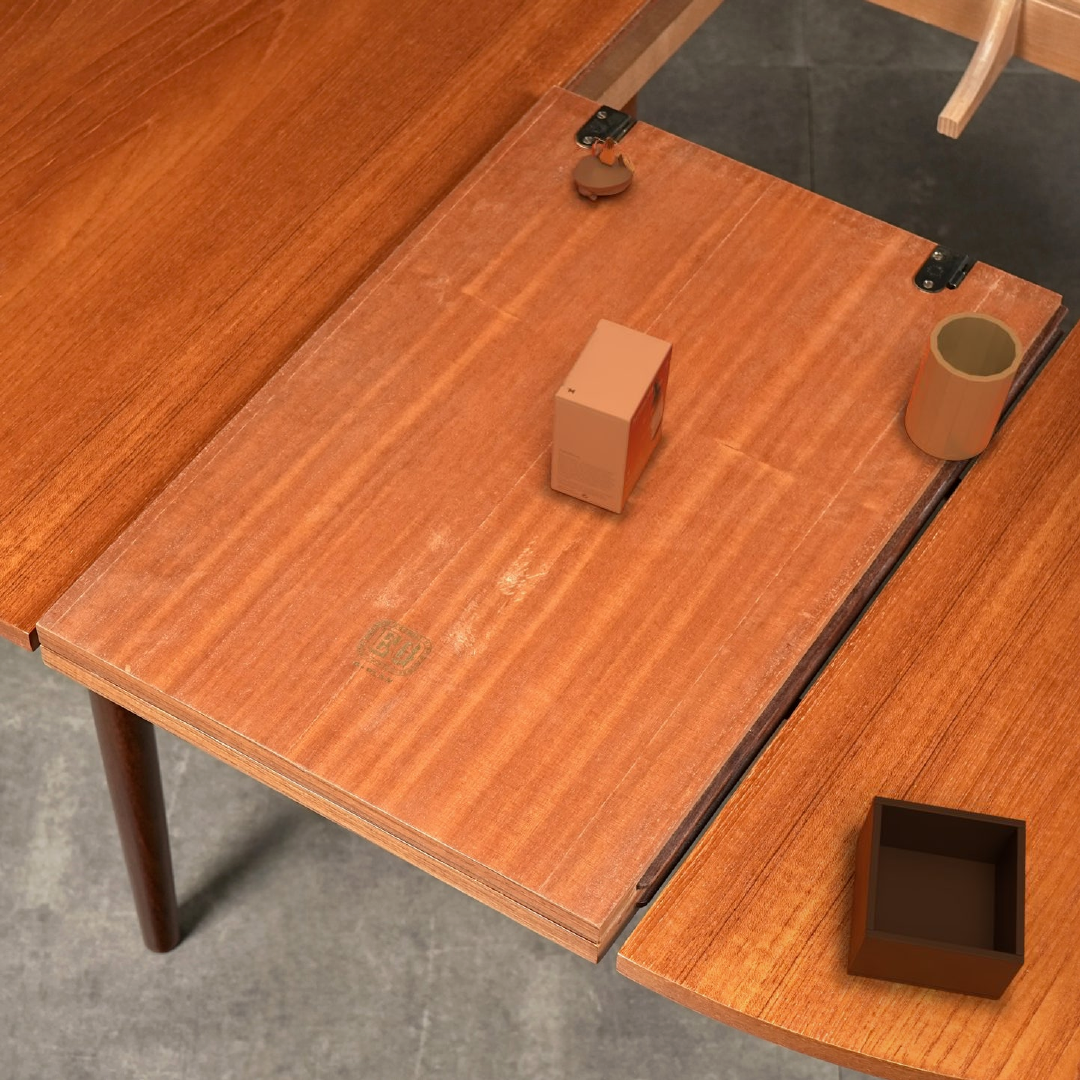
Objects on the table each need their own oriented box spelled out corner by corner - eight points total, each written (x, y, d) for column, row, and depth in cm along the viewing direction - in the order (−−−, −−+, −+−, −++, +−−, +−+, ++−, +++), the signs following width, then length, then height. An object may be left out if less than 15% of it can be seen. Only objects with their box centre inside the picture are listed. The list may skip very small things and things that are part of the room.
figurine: (577, 210, 138) (580, 154, 133) (566, 173, 140) (568, 116, 135) (640, 202, 138) (646, 146, 133) (628, 165, 141) (633, 109, 136)
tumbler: (1009, 433, 125) (1041, 352, 118) (949, 475, 123) (978, 395, 116) (946, 380, 128) (974, 298, 121) (886, 420, 126) (911, 339, 118)
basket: (998, 1000, 101) (1024, 963, 96) (847, 974, 101) (865, 936, 97) (1001, 862, 106) (1026, 820, 101) (857, 838, 107) (874, 795, 102)
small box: (620, 517, 120) (629, 424, 112) (548, 489, 122) (552, 395, 113) (663, 437, 124) (675, 341, 116) (593, 411, 126) (600, 314, 117)
